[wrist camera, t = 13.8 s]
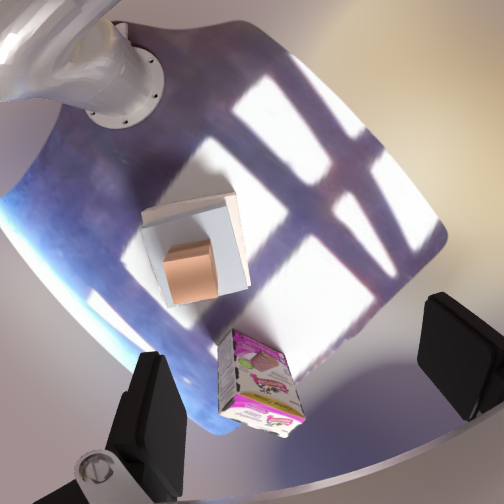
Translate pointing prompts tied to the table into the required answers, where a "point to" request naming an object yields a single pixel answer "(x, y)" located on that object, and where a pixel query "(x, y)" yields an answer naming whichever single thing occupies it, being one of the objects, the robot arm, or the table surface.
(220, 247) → the tower top
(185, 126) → the table surface
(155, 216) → the tower base
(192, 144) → the table surface
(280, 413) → the candy bar box
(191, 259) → the terracotta block
